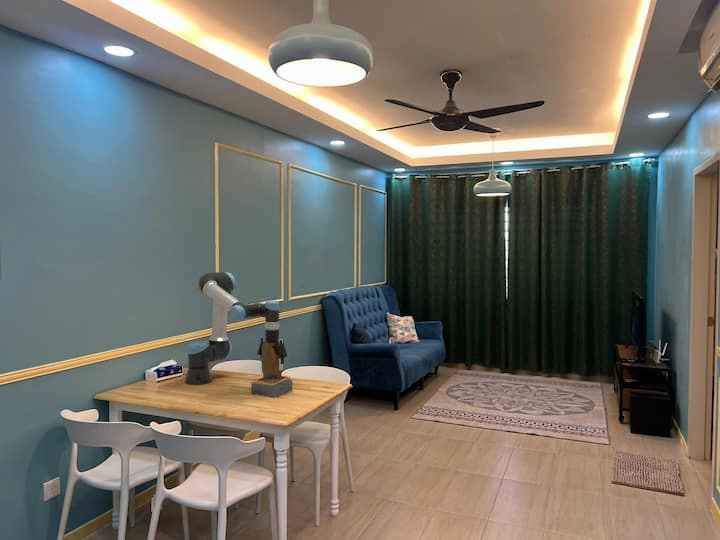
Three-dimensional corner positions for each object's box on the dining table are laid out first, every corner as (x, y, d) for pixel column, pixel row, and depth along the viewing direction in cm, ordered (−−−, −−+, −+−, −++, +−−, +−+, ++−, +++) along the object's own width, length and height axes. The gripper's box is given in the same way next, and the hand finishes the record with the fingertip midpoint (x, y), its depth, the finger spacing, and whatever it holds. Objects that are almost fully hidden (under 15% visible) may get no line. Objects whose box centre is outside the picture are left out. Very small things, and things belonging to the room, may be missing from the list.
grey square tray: (251, 393, 290) (251, 380, 290) (268, 387, 304) (268, 374, 304) (275, 397, 283) (275, 383, 282) (292, 390, 297) (292, 377, 297)
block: (260, 377, 294) (260, 341, 293) (270, 375, 299) (270, 339, 299) (274, 380, 287) (274, 343, 286) (284, 378, 293) (284, 341, 292)
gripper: (250, 328, 294) (250, 367, 295) (286, 331, 284) (286, 372, 285) (259, 326, 301) (259, 365, 302) (293, 329, 290) (293, 369, 291)
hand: (272, 368), depth 293 cm, fingers closed on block, 11 cm apart
